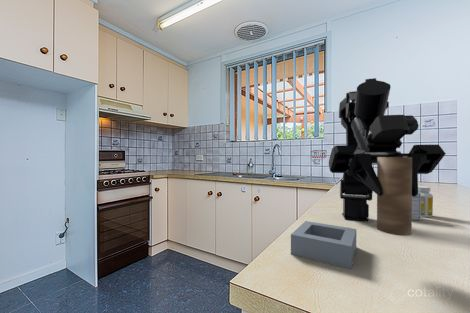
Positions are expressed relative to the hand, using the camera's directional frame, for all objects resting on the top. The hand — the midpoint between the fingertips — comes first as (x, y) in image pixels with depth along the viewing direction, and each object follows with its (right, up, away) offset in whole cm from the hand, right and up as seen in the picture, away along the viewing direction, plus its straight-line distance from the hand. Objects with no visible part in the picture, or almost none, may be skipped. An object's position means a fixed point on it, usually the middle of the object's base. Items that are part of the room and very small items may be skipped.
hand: (398, 194), depth 38 cm
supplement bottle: (+34, -13, +36) cm, 52 cm away
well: (-9, -13, +9) cm, 18 cm away
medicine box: (+26, -13, +34) cm, 45 cm away
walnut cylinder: (0, -7, +1) cm, 7 cm away
